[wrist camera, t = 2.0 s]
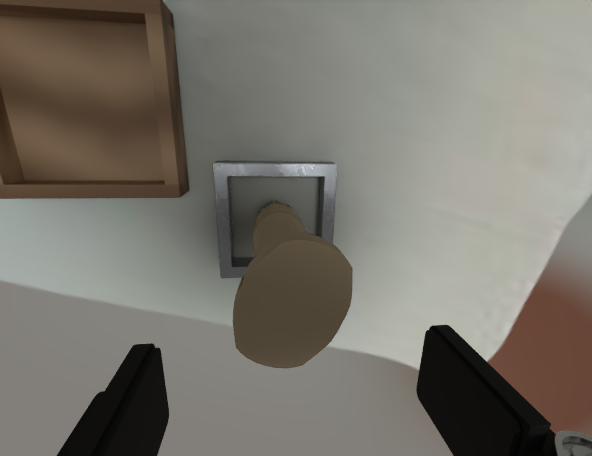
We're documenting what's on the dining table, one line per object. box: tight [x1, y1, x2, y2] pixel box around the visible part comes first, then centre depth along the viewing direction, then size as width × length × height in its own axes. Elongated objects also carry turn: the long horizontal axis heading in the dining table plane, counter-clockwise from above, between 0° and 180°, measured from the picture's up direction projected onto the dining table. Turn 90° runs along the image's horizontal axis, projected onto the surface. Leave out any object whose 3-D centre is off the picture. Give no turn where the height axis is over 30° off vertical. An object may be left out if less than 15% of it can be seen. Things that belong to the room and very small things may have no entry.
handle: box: [233, 201, 352, 368], centre depth 20 cm, size 5×6×15 cm
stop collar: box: [213, 161, 337, 278], centre depth 26 cm, size 10×10×2 cm
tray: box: [0, 0, 189, 199], centre depth 21 cm, size 13×13×3 cm
